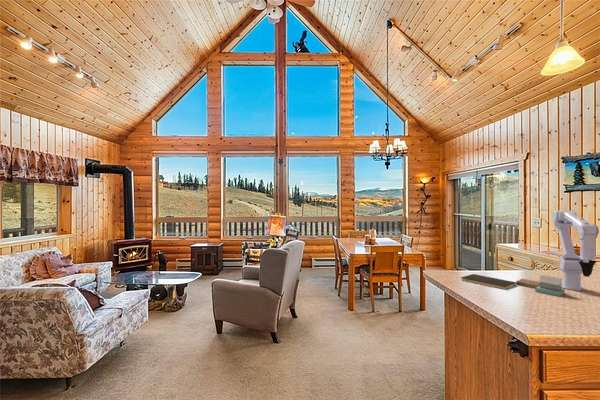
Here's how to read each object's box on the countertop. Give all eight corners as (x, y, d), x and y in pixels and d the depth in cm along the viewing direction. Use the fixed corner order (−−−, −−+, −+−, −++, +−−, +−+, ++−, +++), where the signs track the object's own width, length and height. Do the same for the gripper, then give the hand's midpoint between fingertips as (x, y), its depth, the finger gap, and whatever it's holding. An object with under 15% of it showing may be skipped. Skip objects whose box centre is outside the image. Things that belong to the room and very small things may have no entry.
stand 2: (541, 288, 172) (541, 284, 172) (564, 293, 165) (564, 289, 165) (535, 291, 166) (535, 287, 166) (559, 296, 158) (559, 292, 158)
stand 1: (522, 282, 186) (522, 278, 186) (543, 285, 178) (543, 282, 178) (516, 284, 180) (516, 281, 180) (537, 288, 172) (537, 285, 172)
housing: (561, 289, 163) (561, 278, 163) (559, 291, 161) (559, 279, 161) (542, 286, 170) (542, 274, 170) (539, 287, 167) (540, 276, 167)
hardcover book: (504, 290, 169) (504, 286, 169) (460, 281, 187) (460, 277, 187) (516, 286, 179) (516, 282, 179) (473, 277, 197) (473, 273, 197)
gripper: (579, 246, 168) (578, 272, 168) (575, 248, 158) (574, 275, 158) (597, 247, 163) (597, 274, 162) (594, 250, 153) (594, 278, 153)
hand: (587, 275), depth 160 cm, fingers open, 7 cm apart
